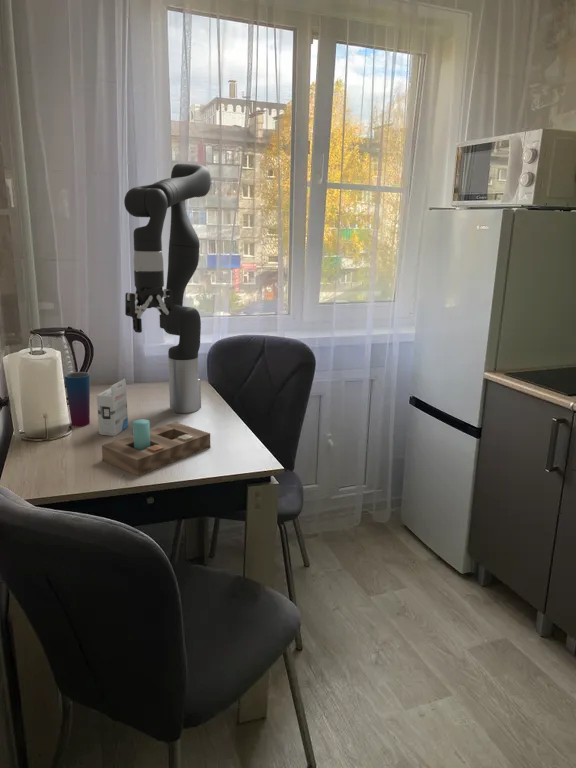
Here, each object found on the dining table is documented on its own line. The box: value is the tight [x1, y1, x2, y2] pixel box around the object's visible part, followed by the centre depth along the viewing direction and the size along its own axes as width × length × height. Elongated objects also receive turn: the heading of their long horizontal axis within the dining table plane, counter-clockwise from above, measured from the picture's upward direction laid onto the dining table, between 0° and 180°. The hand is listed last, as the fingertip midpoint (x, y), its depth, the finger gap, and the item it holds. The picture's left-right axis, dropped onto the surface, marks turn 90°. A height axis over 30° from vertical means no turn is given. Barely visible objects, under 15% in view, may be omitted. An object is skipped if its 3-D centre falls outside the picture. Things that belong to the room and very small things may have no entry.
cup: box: [64, 371, 91, 428], centre depth 169 cm, size 7×7×15 cm
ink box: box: [96, 378, 129, 437], centre depth 164 cm, size 9×5×15 cm, turn 168°
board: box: [101, 421, 211, 476], centre depth 149 cm, size 24×14×4 cm, turn 142°
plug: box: [132, 419, 151, 451], centre depth 145 cm, size 4×4×10 cm
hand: (151, 330), depth 155 cm, fingers open, 8 cm apart
